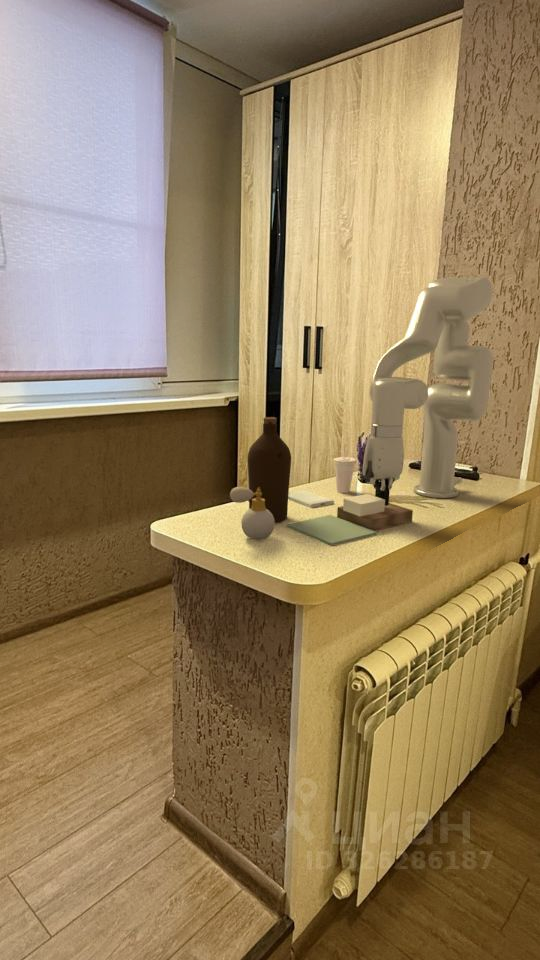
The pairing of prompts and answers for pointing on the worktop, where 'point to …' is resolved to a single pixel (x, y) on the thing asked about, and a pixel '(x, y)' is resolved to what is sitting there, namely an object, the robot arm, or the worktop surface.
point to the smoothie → (344, 472)
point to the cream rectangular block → (364, 505)
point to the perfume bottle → (254, 514)
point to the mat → (331, 530)
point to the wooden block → (379, 517)
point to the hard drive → (309, 499)
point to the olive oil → (270, 470)
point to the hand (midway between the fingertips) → (381, 504)
